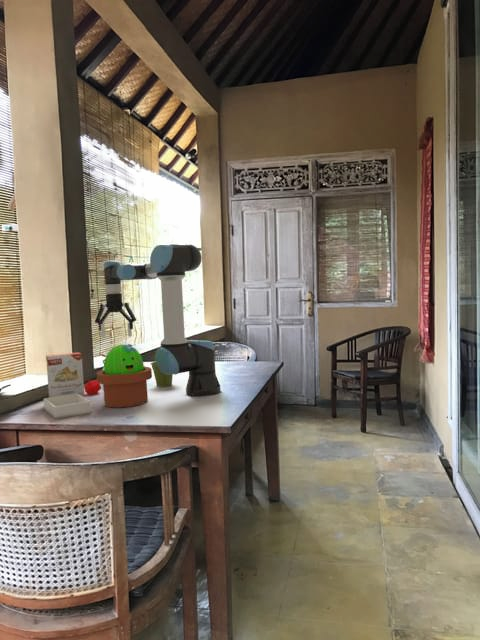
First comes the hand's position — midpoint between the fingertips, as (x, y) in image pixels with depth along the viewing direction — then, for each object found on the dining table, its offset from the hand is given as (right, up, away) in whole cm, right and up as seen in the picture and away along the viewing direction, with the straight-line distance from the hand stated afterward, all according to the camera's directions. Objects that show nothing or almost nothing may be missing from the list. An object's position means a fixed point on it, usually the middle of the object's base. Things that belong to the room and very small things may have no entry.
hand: (116, 336), depth 245 cm
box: (-8, -28, -46) cm, 54 cm away
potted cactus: (+13, -26, -37) cm, 47 cm away
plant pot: (+24, -24, -3) cm, 34 cm away
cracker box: (-14, -27, -29) cm, 43 cm away
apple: (-8, -26, -13) cm, 30 cm away
